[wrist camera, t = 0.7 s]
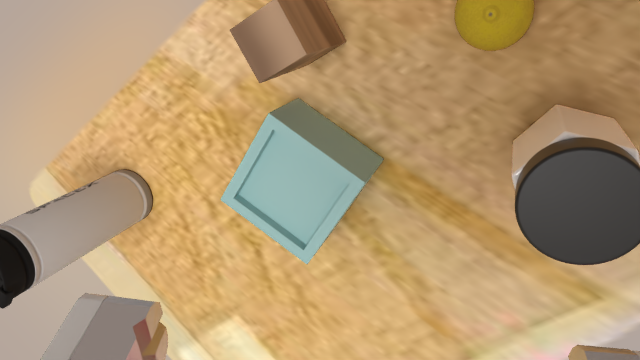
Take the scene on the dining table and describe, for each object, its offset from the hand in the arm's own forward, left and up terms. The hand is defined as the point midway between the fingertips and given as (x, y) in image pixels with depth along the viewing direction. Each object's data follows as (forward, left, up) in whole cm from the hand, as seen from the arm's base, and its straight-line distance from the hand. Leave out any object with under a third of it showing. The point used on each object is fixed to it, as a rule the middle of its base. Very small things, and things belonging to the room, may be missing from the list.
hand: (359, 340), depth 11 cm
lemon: (-4, -2, -38) cm, 39 cm away
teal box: (+17, -7, -38) cm, 42 cm away
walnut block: (+6, -14, -38) cm, 41 cm away
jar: (+2, +10, -38) cm, 40 cm away
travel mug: (+34, -23, -38) cm, 56 cm away
